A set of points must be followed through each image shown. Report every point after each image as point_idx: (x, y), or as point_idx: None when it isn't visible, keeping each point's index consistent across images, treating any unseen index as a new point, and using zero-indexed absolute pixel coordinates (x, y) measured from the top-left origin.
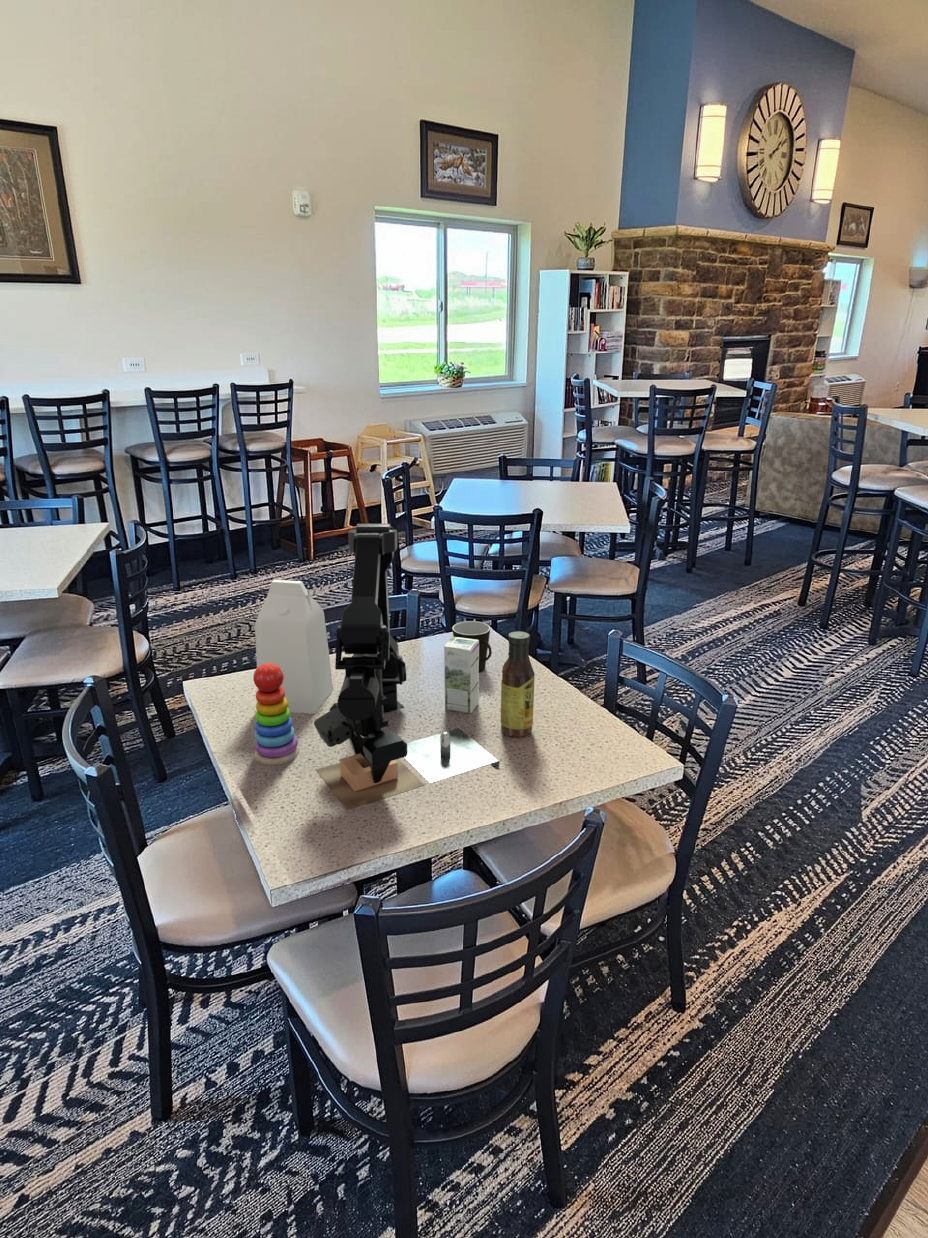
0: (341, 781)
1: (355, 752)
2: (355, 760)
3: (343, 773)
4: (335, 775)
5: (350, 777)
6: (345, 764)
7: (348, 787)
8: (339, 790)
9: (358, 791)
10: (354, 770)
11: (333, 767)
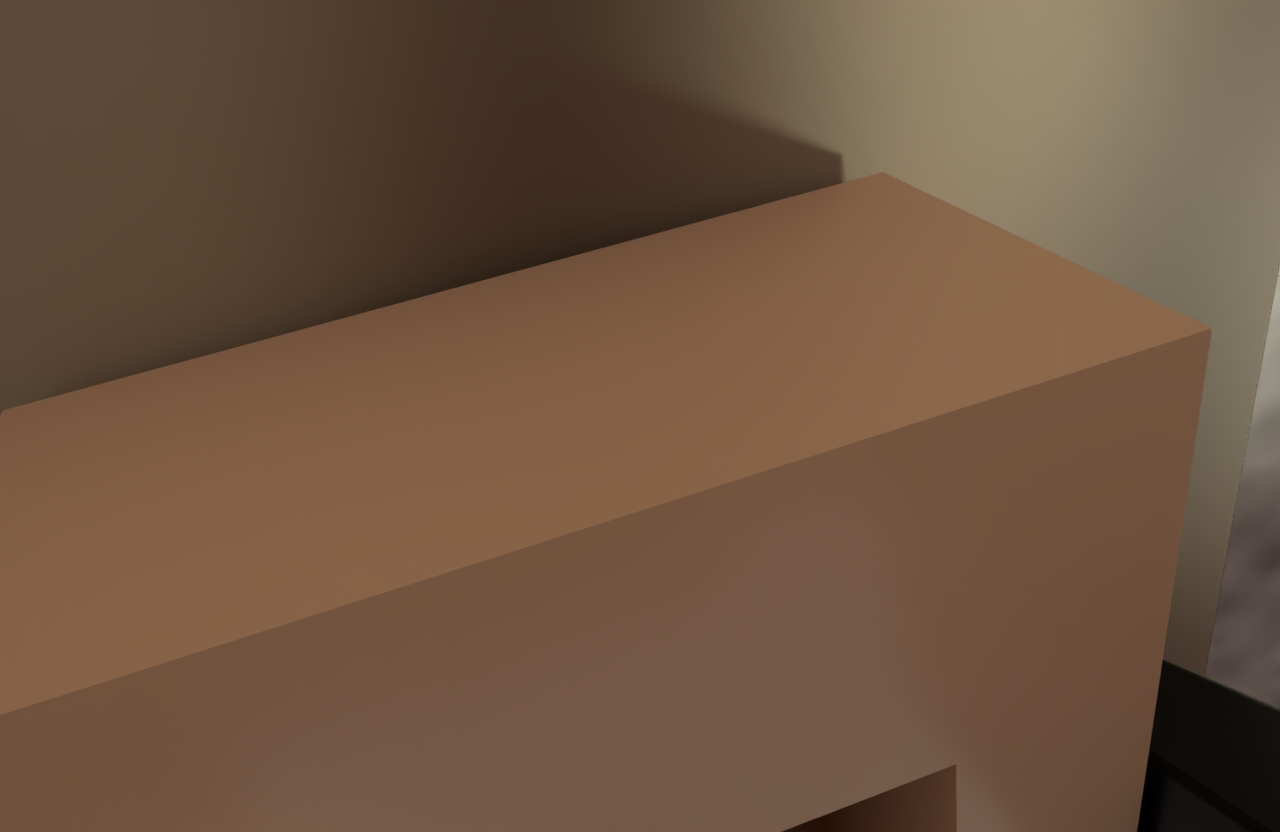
0: (628, 145)
1: (1213, 803)
2: (884, 777)
3: (749, 267)
4: (926, 43)
5: (214, 503)
6: (798, 505)
7: (304, 276)
8: (199, 14)
9: None
10: (265, 788)
11: (1225, 58)
